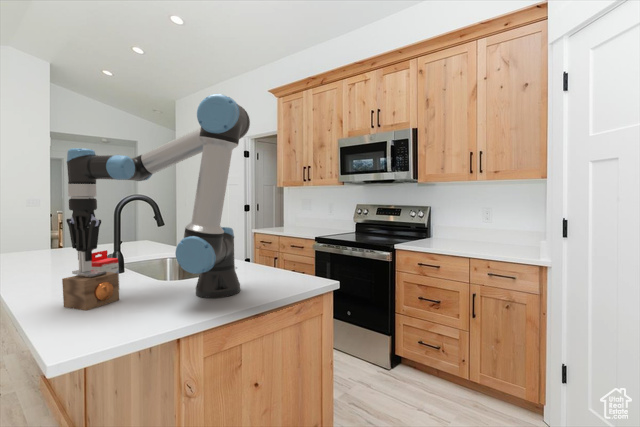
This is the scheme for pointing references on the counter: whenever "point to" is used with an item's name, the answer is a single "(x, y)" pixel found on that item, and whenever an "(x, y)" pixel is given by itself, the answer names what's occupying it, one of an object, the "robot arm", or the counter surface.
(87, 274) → the plate
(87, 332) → the counter surface
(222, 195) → the robot arm
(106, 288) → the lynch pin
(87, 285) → the block
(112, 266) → the ink box
